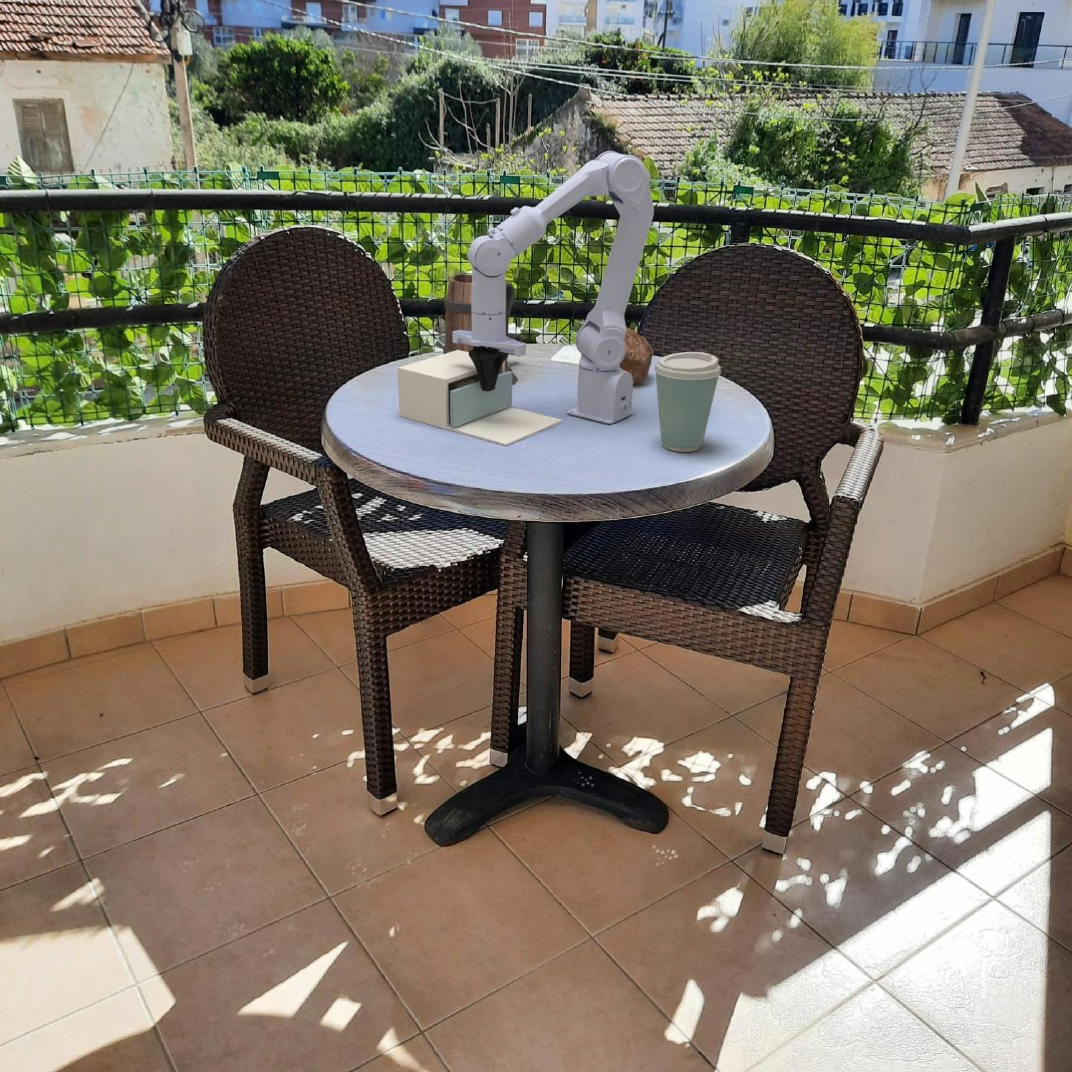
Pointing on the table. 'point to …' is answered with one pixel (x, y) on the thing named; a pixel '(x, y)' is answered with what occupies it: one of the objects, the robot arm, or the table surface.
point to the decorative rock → (636, 356)
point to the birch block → (458, 385)
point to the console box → (429, 401)
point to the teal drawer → (479, 400)
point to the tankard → (469, 314)
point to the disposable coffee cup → (685, 398)
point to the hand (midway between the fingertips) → (488, 389)
